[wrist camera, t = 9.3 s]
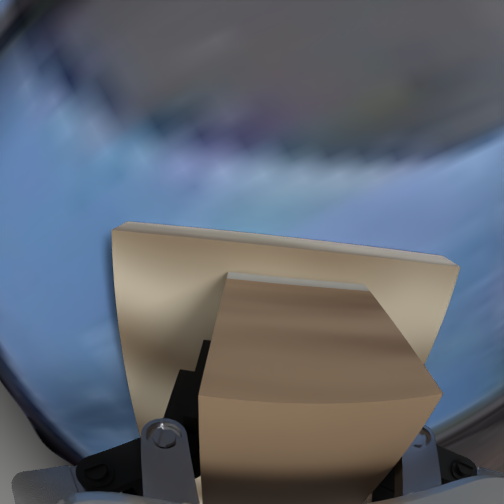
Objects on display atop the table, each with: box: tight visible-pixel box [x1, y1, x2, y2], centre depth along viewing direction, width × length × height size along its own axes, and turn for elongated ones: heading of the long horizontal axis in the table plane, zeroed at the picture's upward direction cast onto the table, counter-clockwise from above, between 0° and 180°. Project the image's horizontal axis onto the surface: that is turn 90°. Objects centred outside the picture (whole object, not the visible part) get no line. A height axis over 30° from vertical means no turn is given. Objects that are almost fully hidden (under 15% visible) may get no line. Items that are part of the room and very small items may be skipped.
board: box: [112, 221, 460, 504], centre depth 15 cm, size 24×14×2 cm, turn 174°
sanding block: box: [198, 272, 443, 504], centre depth 9 cm, size 8×5×6 cm, turn 174°
